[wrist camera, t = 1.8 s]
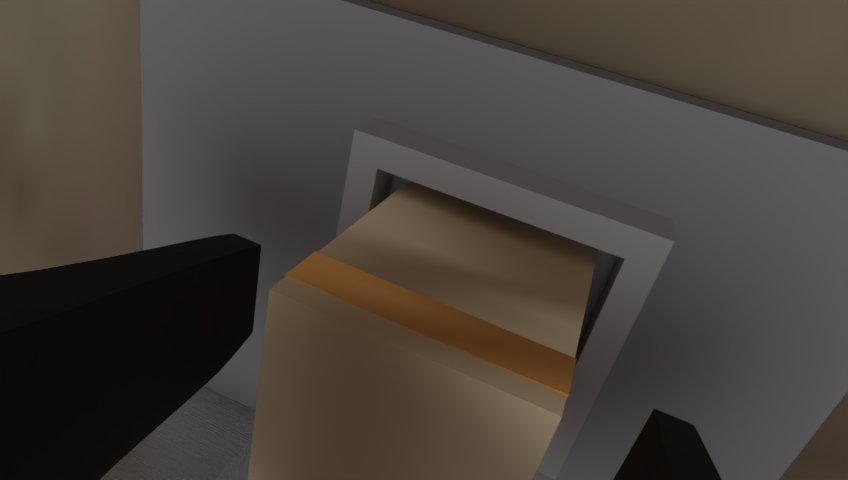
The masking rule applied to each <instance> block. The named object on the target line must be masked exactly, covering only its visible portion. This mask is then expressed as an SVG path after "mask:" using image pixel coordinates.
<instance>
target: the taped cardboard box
mask: <svg viewBox="0 0 848 480" xmlns="http://www.w3.org/2000/svg"><path fill="white" fill-rule="evenodd" d="M597 254H598V249H596V248H593V247H591V246H588V245H585V244H583V243H580V242H577V241H574V240H572V239H569V238H566V237H563V236H561V235H558V234H555V233H552V232H550V231H547V230H544V229H541V228H539V227H536V226H533V225H530V224H528V223H525V222H522V221H519V220H517V219H514V218H511V217H509V216H506V215H503V214H500V213H498V212H495V211H492V210H489V209H487V208H484V207H481V206H478V205H476V204H473V203H470V202H467V201H465V200H462V199H459V198H456V197H454V196H451V195H448V194H445V193H443V192H440V191H437V190H435V189H432V188H429V187H426V186H424V185H421V184H418V183H415V182H413V181H408V182H407V183H406V184H405V185H403V186H402V187H401V188H399V189H398V190H397V191H396V192H394V193H393V194H392V195H390V196H389V197H388V198H387V199H385V200H384V201H383V202H381V203H380V204H379V205H377V206H376V207H375V208H374V209H372V210H371V211H370V212H368V213H367V214H366V215H365V216H363V217H362V218H361V219H359V220H358V221H357V222H356V223H354V224H353V225H352V226H350V227H349V228H348V229H346V230H345V231H344V232H343V233H341V234H340V235H339V236H337V237H336V238H335V239H334V240H332V241H331V242H330V243H328V244H327V245H326V246H325V247H323V248H322V249H321V250H319V251H318V252H316V251H315V252H314V253H312V254H311V255H310V256H309V257H307V258H306V259H305V260H303V261H302V262H301V263H299V264H298V265H297V266H295V267H294V268H293V269H292V270H290V271H289V272H288V273H286V274H285V278H283V279H282V280H281V281H279V282H278V283H277V284H275V285H274V286H273V287H272V288H270V289H269V298H268V306H267V315H266V324H265V332H264V341H263V350H262V359H261V367H260V376H259V385H258V393H257V402H256V411H255V419H254V428H253V437H252V446H251V454H250V463H249V472H248V480H533V478H534V475H535V473H536V471H537V469H538V467H539V465H540V463H541V461H542V459H543V456H544V454H545V452H546V450H547V448H548V446H549V444H550V442H551V439H552V437H553V435H554V433H555V431H556V429H557V427H558V425H559V422H560V420H561V418H562V415H563V411H564V406H565V402H566V400H567V398H568V396H569V392H570V388H571V383H572V378H573V373H574V369H575V364H576V358H575V355H576V351H577V346H578V341H579V337H580V332H581V328H582V323H583V318H584V314H585V309H586V305H587V300H588V295H589V291H590V286H591V282H592V277H593V272H594V268H595V263H596V258H597Z"/></svg>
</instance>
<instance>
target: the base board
mask: <svg viewBox="0 0 848 480" xmlns="http://www.w3.org/2000/svg"><path fill="white" fill-rule="evenodd" d="M140 33H141V114H142V194H143V250H148V249H153V248H158V247H163V246H167V245H172V244H177V243H181V242H186V241H191V240H196V239H201V238H206V237H212V236H218V235H225V234H233V233H234V234H236V235H239V236H241V237H244V238H246V239H248V240H251V241H253V242H256V243H258V244H260V245H261V255H260V265H259V275H258V285H257V295H256V305H255V315H254V325H253V333H252V334H251V335H250V336H249V338H248V339H247V340H246V341H245V342H244V344H243V345H242V346H241V347H240V348H239V350H238V351H237V352H236V353H235V354H234V356H233V357H232V358H231V359H230V360H229V361H228V362H227V363H226V365H225V366H224V367H223V368H222V369H221V370H220V371H219V372H218V373H217V374H216V375H215V376H214V377H213V378H212V379H211V380H210V381H209V382H208V383H207V384H205V385H204V386H206V387H208V388H210V389H212V390H214V391H216V392H218V393H220V394H222V395H224V396H226V397H228V398H230V399H232V400H234V401H236V402H238V403H240V404H242V405H244V406H246V407H248V408H250V409H252V410H254V411H256V402H257V393H258V385H259V376H260V367H261V359H262V350H263V341H264V332H265V324H266V315H267V306H268V298H269V289H270V288H272V287H273V286H274V285H275V284H277V283H278V282H279V281H281V280H282V279H283V278H285V274H286V273H288V272H289V271H290V270H292V269H293V268H294V267H295V266H297V265H298V264H299V263H301V262H302V261H303V260H305V259H306V258H307V257H309V256H310V255H311V254H312V253H314V252H315V251H316V252H318V251H319V250H321V249H322V248H323V247H325V246H326V245H327V244H328V243H330V242H331V241H332V240H334V239H335V238H336V237H337V236H339V235H340V234H341V233H343V232H344V231H345V230H346V229H348V228H349V227H350V226H352V225H353V224H354V223H356V222H357V221H358V220H359V219H361V218H362V217H363V216H365V215H366V214H367V213H368V212H370V211H371V210H372V209H374V208H375V207H376V206H377V205H379V204H380V203H381V202H383V201H384V200H385V199H387V198H388V197H389V196H390V195H392V194H393V193H394V192H396V191H397V190H398V189H399V188H401V187H402V186H403V185H405V184H406V183H407V182H408V181H413V182H415V183H418V184H421V185H424V186H426V187H429V188H432V189H435V190H437V191H440V192H443V193H445V194H448V195H451V196H454V197H456V198H459V199H462V200H465V201H467V202H470V203H473V204H476V205H478V206H481V207H484V208H487V209H489V210H492V211H495V212H498V213H500V214H503V215H506V216H509V217H511V218H514V219H517V220H519V221H522V222H525V223H528V224H530V225H533V226H536V227H539V228H541V229H544V230H547V231H550V232H552V233H555V234H558V235H561V236H563V237H566V238H569V239H572V240H574V241H577V242H580V243H583V244H585V245H588V246H591V247H593V248H596V249H598V254H597V258H596V263H595V268H594V272H593V277H592V282H591V286H590V291H589V295H588V300H587V305H586V309H585V314H584V318H583V323H582V328H581V332H580V337H579V341H578V346H577V351H576V355H575V358H576V364H575V369H574V373H573V378H572V383H571V388H570V392H569V396H568V398H567V400H566V402H565V406H564V411H563V415H562V418H561V420H560V422H559V425H558V427H557V429H556V431H555V433H554V435H553V437H552V439H551V442H550V444H549V446H548V448H547V450H546V452H545V454H544V456H543V459H542V461H541V463H540V465H539V467H538V469H537V471H536V473H535V475H534V478H533V480H613V479H614V477H615V476H616V474H617V472H618V470H619V469H620V467H621V465H622V463H623V462H624V460H625V458H626V456H627V455H628V453H629V451H630V450H631V448H632V446H633V444H634V443H635V441H636V439H637V437H638V436H639V434H640V432H641V430H642V429H643V427H644V425H645V423H646V422H647V420H648V418H649V417H650V415H651V413H652V411H653V410H654V408H655V409H657V410H659V411H662V412H664V413H667V414H669V415H672V416H674V417H676V418H679V419H681V420H684V421H686V422H688V423H691V424H693V425H694V426H695V428H696V430H697V431H698V433H699V435H700V437H701V439H702V441H703V443H704V445H705V447H706V449H707V451H708V453H709V455H710V457H711V459H712V461H713V463H714V465H715V467H716V469H717V471H718V473H719V475H720V477H721V479H722V480H779V479H780V477H781V476H782V475H783V474H784V472H785V471H786V470H787V468H788V467H789V466H790V465H791V463H792V462H793V461H794V459H795V458H796V457H797V456H798V454H799V453H800V452H801V450H802V449H803V448H804V447H805V445H806V444H807V443H808V441H809V440H810V439H811V438H812V436H813V435H814V434H815V433H816V431H817V430H818V429H819V427H820V426H821V425H822V424H823V422H824V421H825V420H826V418H827V417H828V416H829V415H830V413H831V412H832V411H833V409H834V408H835V407H836V406H837V404H838V403H839V402H840V401H841V399H842V398H843V397H844V395H845V394H846V393H847V392H848V142H846V141H843V140H840V139H836V138H833V137H829V136H826V135H823V134H819V133H816V132H812V131H809V130H806V129H802V128H799V127H795V126H792V125H789V124H785V123H782V122H778V121H775V120H772V119H768V118H765V117H761V116H758V115H755V114H751V113H748V112H744V111H741V110H738V109H734V108H731V107H727V106H724V105H721V104H717V103H714V102H710V101H707V100H704V99H700V98H697V97H693V96H690V95H687V94H683V93H680V92H676V91H673V90H670V89H666V88H663V87H659V86H656V85H653V84H649V83H646V82H642V81H639V80H636V79H632V78H629V77H626V76H622V75H619V74H615V73H612V72H609V71H605V70H602V69H598V68H595V67H592V66H588V65H585V64H581V63H578V62H575V61H571V60H568V59H564V58H561V57H558V56H554V55H551V54H547V53H544V52H541V51H537V50H534V49H530V48H527V47H524V46H520V45H517V44H513V43H510V42H507V41H503V40H500V39H496V38H493V37H490V36H486V35H483V34H479V33H476V32H473V31H469V30H466V29H462V28H459V27H456V26H452V25H449V24H445V23H442V22H439V21H435V20H432V19H428V18H425V17H422V16H418V15H415V14H411V13H408V12H405V11H401V10H398V9H394V8H391V7H388V6H384V5H381V4H377V3H374V2H371V1H367V0H140Z"/></svg>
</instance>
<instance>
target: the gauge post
mask: <svg viewBox="0 0 848 480" xmlns="http://www.w3.org/2000/svg"><path fill="white" fill-rule="evenodd" d="M254 419H255V411H254V410H252V409H250V408H248V407H246V406H244V405H242V404H240V403H238V402H236V401H234V400H232V399H230V398H228V397H226V396H224V395H222V394H220V393H218V392H216V391H214V390H212V389H210V388H208V387H206V386H203V387H202V388H201V389H200V390H199V391H198V392H197V393H195V394H194V395H193V396H192V397H191V398H190V399H189V400H188V401H187V402H186V403H184V404H183V405H182V406H181V407H180V408H179V409H178V410H176V411H175V412H174V413H173V414H172V415H171V416H170V417H169V418H167V419H166V420H165V421H164V422H163V423H162V424H161V425H160V426H158V427H157V428H156V429H155V430H154V431H153V432H152V433H150V434H149V435H148V436H147V437H146V438H145V439H144V440H143V441H141V442H140V443H139V444H138V445H137V446H136V447H135V448H134V449H132V450H131V451H130V452H129V453H128V454H127V455H126V456H124V457H123V458H122V459H121V460H120V461H119V462H118V463H117V464H116V465H115V466H114V467H113V468H112V469H111V470H110V471H108V472H107V473H106V474H105V475H104V476H103V477H102V478H101V479H100V480H248V472H249V463H250V454H251V446H252V437H253V428H254Z"/></svg>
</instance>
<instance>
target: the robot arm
mask: <svg viewBox="0 0 848 480" xmlns="http://www.w3.org/2000/svg"><path fill="white" fill-rule="evenodd" d="M260 255H261V245H260V244H258V243H256V242H253V241H251V240H248V239H246V238H244V237H241V236H239V235H236V234H234V233H233V234H225V235H218V236H212V237H206V238H201V239H196V240H191V241H186V242H181V243H177V244H172V245H167V246H163V247H158V248H153V249H148V250H143V251H139V252H134V253H129V254H124V255H119V256H115V257H110V258H104V259H98V260H93V261H87V262H81V263H76V264H70V265H65V266H59V267H53V268H48V269H42V270H35V271H29V272H22V273H14V274H7V275H0V480H100V479H101V478H102V477H103V476H104V475H105V474H106V473H107V472H108V471H110V470H111V469H112V468H113V467H114V466H115V465H116V464H117V463H118V462H119V461H120V460H121V459H122V458H123V457H124V456H126V455H127V454H128V453H129V452H130V451H131V450H132V449H134V448H135V447H136V446H137V445H138V444H139V443H140V442H141V441H143V440H144V439H145V438H146V437H147V436H148V435H149V434H150V433H152V432H153V431H154V430H155V429H156V428H157V427H158V426H160V425H161V424H162V423H163V422H164V421H165V420H166V419H167V418H169V417H170V416H171V415H172V414H173V413H174V412H175V411H176V410H178V409H179V408H180V407H181V406H182V405H183V404H184V403H186V402H187V401H188V400H189V399H190V398H191V397H192V396H193V395H194V394H195V393H197V392H198V391H199V390H200V389H201V388H202V387H203V386H204V385H205V384H207V383H208V382H209V381H210V380H211V379H212V378H213V377H214V376H215V375H216V374H217V373H218V372H219V371H220V370H221V369H222V368H223V367H224V366H225V365H226V363H227V362H228V361H229V360H230V359H231V358H232V357H233V356H234V354H235V353H236V352H237V351H238V350H239V348H240V347H241V346H242V345H243V344H244V342H245V341H246V340H247V339H248V338H249V336H250V335H251V334H252V333H253V325H254V315H255V305H256V295H257V285H258V275H259V265H260ZM613 480H722V479H721V477H720V475H719V473H718V471H717V469H716V467H715V465H714V463H713V461H712V459H711V457H710V455H709V453H708V451H707V449H706V447H705V445H704V443H703V441H702V439H701V437H700V435H699V433H698V431H697V430H696V428H695V426H694V425H693V424H691V423H688V422H686V421H684V420H681V419H679V418H676V417H674V416H672V415H669V414H667V413H664V412H662V411H659V410H657V409H655V408H654V410H653V411H652V413H651V415H650V417H649V418H648V420H647V422H646V423H645V425H644V427H643V429H642V430H641V432H640V434H639V436H638V437H637V439H636V441H635V443H634V444H633V446H632V448H631V450H630V451H629V453H628V455H627V456H626V458H625V460H624V462H623V463H622V465H621V467H620V469H619V470H618V472H617V474H616V476H615V477H614V479H613Z"/></svg>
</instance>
